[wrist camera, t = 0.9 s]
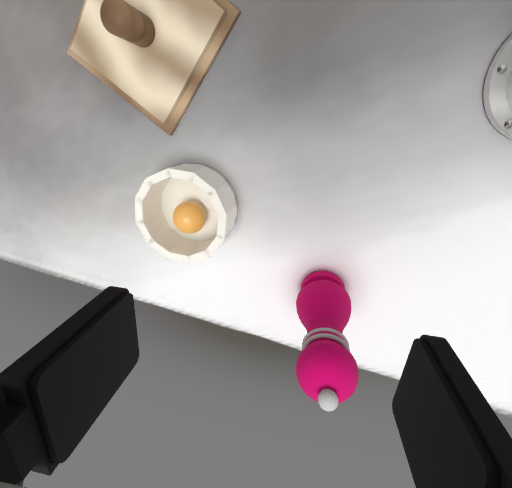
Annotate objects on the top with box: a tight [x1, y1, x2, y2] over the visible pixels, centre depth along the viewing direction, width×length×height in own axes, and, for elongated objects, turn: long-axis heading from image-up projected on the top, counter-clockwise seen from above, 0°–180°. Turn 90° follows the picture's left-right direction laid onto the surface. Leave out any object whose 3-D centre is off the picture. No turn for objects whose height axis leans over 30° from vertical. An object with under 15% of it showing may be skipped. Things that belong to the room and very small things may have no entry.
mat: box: [67, 0, 240, 135], centre depth 34 cm, size 16×16×1 cm
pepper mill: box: [296, 271, 358, 411], centre depth 34 cm, size 7×7×20 cm
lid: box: [70, 0, 227, 124], centre depth 31 cm, size 14×14×6 cm
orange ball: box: [173, 201, 206, 234], centre depth 39 cm, size 4×4×4 cm
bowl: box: [135, 163, 237, 263], centre depth 39 cm, size 12×12×6 cm
